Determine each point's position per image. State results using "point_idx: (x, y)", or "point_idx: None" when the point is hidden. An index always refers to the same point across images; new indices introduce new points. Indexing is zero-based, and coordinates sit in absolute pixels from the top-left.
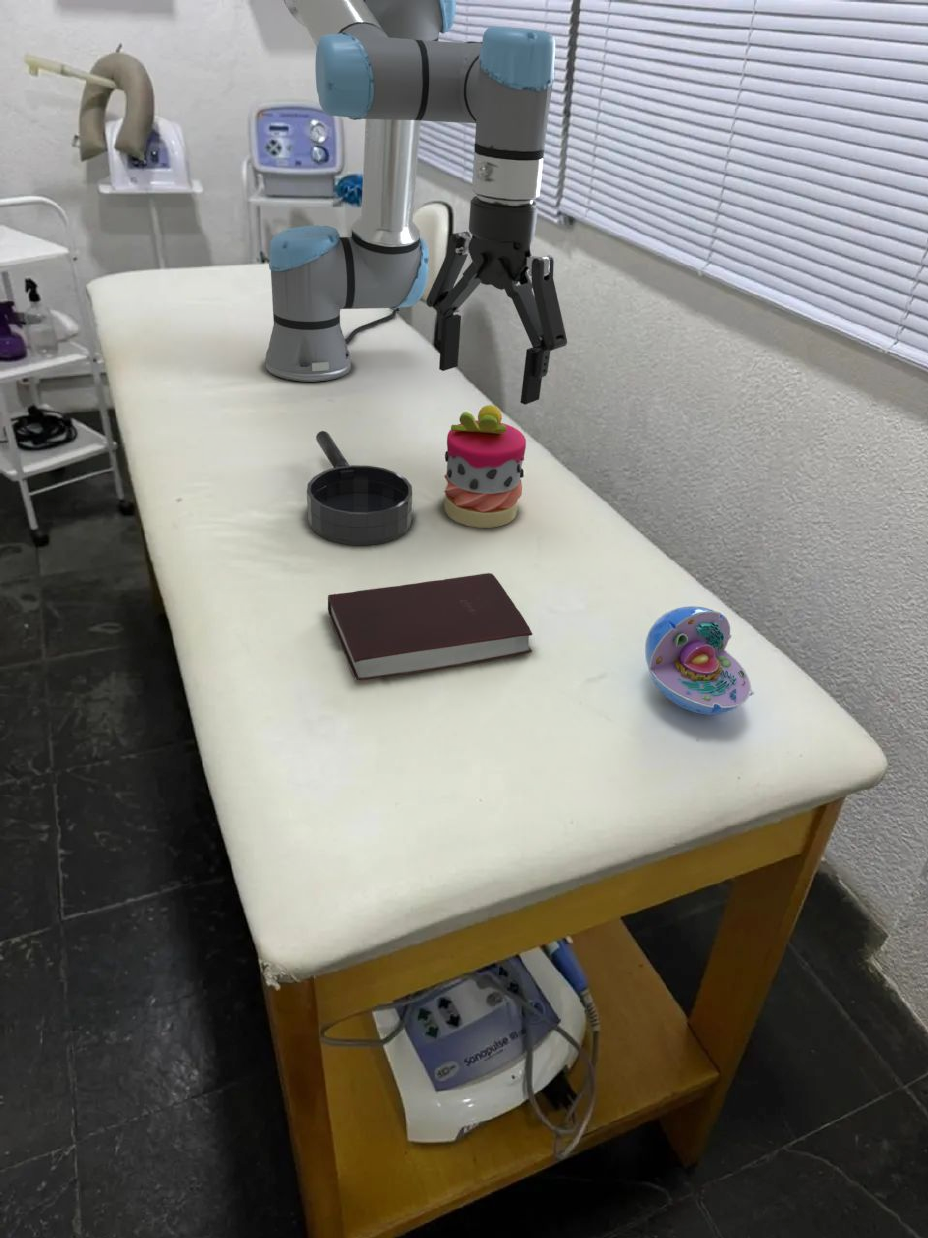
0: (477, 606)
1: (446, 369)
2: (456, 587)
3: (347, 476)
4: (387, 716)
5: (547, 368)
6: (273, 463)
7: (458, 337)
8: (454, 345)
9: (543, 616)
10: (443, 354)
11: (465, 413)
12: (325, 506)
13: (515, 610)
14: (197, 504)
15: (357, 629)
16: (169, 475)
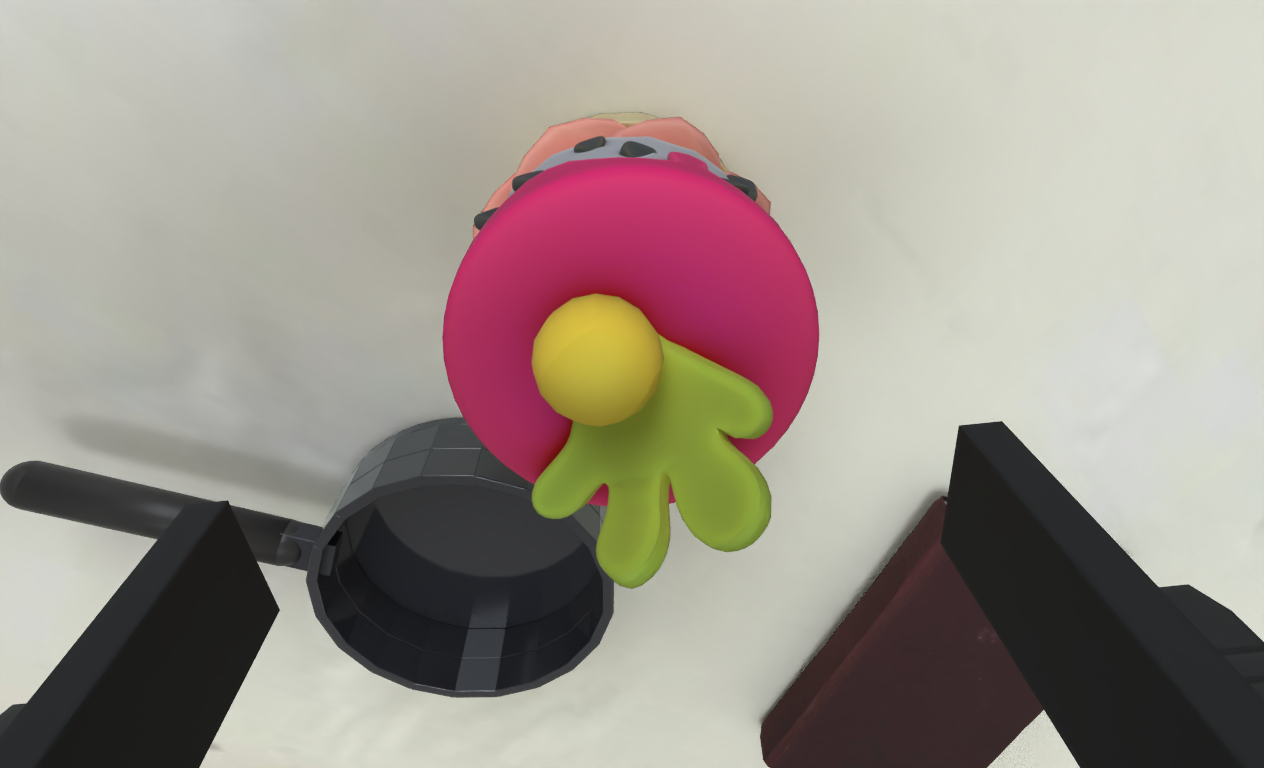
0: None
1: (269, 591)
2: (938, 615)
3: (339, 550)
4: (1007, 763)
5: (1261, 651)
6: (68, 546)
7: (99, 696)
8: (159, 673)
9: (1087, 458)
10: (224, 706)
11: (635, 583)
12: (507, 691)
13: None
14: (245, 731)
15: None
16: None
